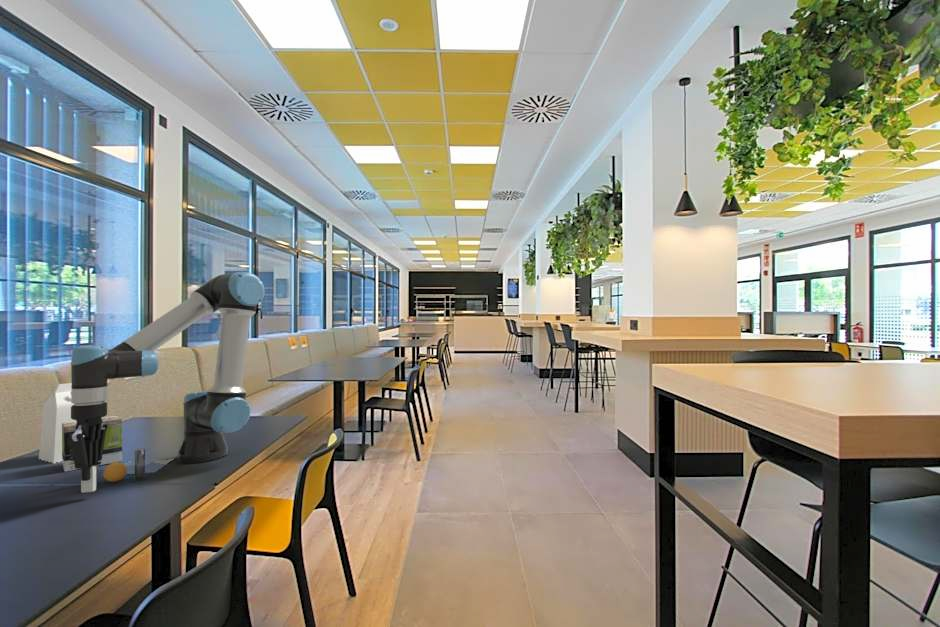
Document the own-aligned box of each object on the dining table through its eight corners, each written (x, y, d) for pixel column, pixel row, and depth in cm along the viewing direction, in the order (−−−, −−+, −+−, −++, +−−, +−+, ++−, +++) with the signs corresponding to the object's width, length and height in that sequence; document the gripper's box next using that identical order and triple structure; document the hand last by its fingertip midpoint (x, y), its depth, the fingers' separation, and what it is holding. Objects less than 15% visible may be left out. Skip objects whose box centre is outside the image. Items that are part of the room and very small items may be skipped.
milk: (80, 450, 169) (81, 380, 169) (96, 454, 163) (96, 382, 164) (38, 459, 158) (39, 384, 159) (53, 463, 153) (54, 386, 153)
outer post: (99, 481, 134) (99, 451, 134) (94, 484, 132) (94, 453, 132) (89, 482, 134) (89, 451, 134) (84, 485, 131) (84, 454, 131)
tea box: (118, 456, 161) (118, 414, 161) (122, 462, 154) (122, 418, 154) (61, 465, 150) (61, 421, 151) (63, 472, 143) (63, 425, 143)
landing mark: (175, 458, 157) (175, 458, 157) (154, 472, 142) (154, 472, 142) (126, 462, 154) (126, 461, 154) (100, 476, 139) (100, 475, 139)
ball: (132, 463, 139) (124, 460, 134) (127, 482, 136) (118, 479, 131) (111, 464, 138) (103, 460, 133) (106, 483, 135) (97, 480, 130)
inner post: (146, 478, 137) (146, 448, 137) (142, 481, 134) (142, 450, 134) (137, 479, 136) (137, 449, 136) (132, 481, 134) (133, 451, 134)
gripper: (88, 399, 127) (87, 483, 127) (56, 408, 115) (55, 501, 114) (118, 398, 129) (118, 481, 128) (90, 406, 116) (89, 499, 116)
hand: (88, 491), depth 121 cm, fingers closed
